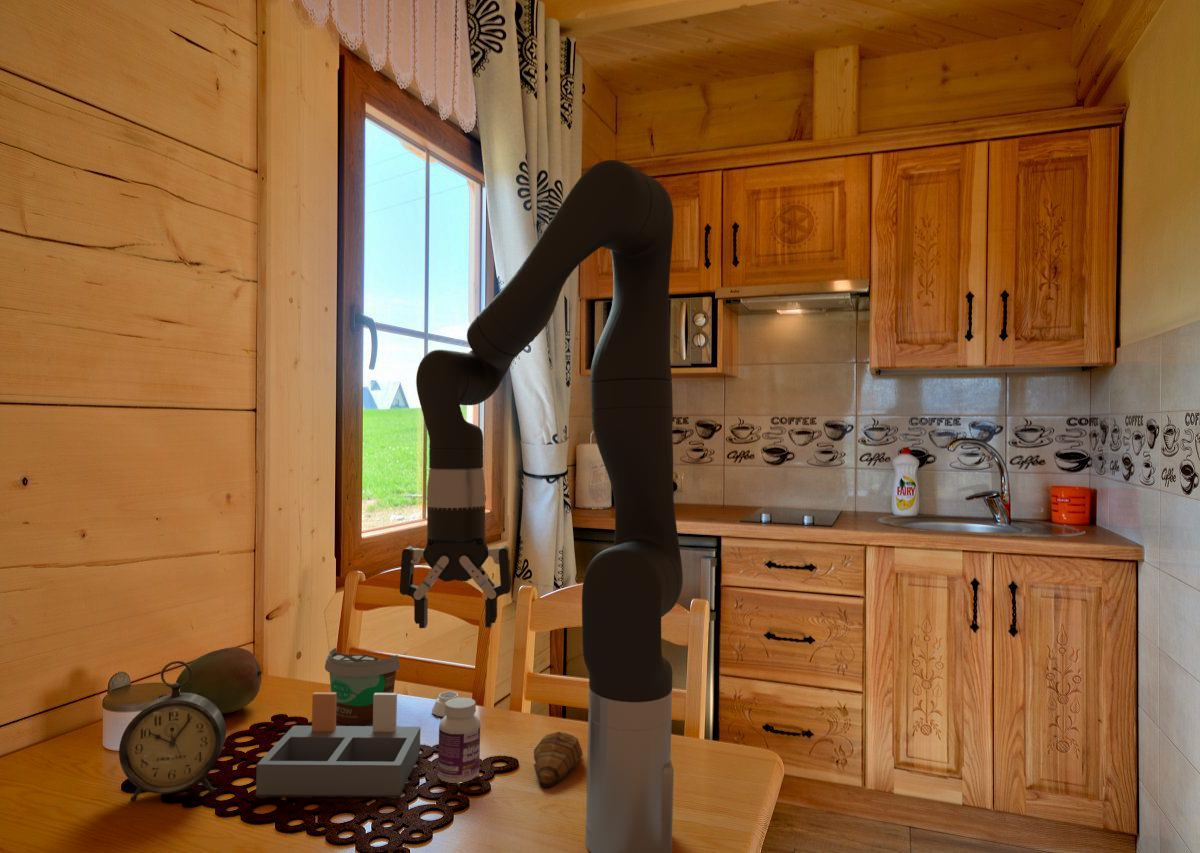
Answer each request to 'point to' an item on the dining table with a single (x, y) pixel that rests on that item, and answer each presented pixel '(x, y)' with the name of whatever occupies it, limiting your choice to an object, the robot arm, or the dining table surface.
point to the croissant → (556, 757)
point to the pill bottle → (459, 741)
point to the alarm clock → (172, 742)
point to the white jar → (443, 703)
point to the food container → (359, 684)
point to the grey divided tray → (341, 755)
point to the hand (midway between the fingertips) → (456, 626)
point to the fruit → (224, 678)
